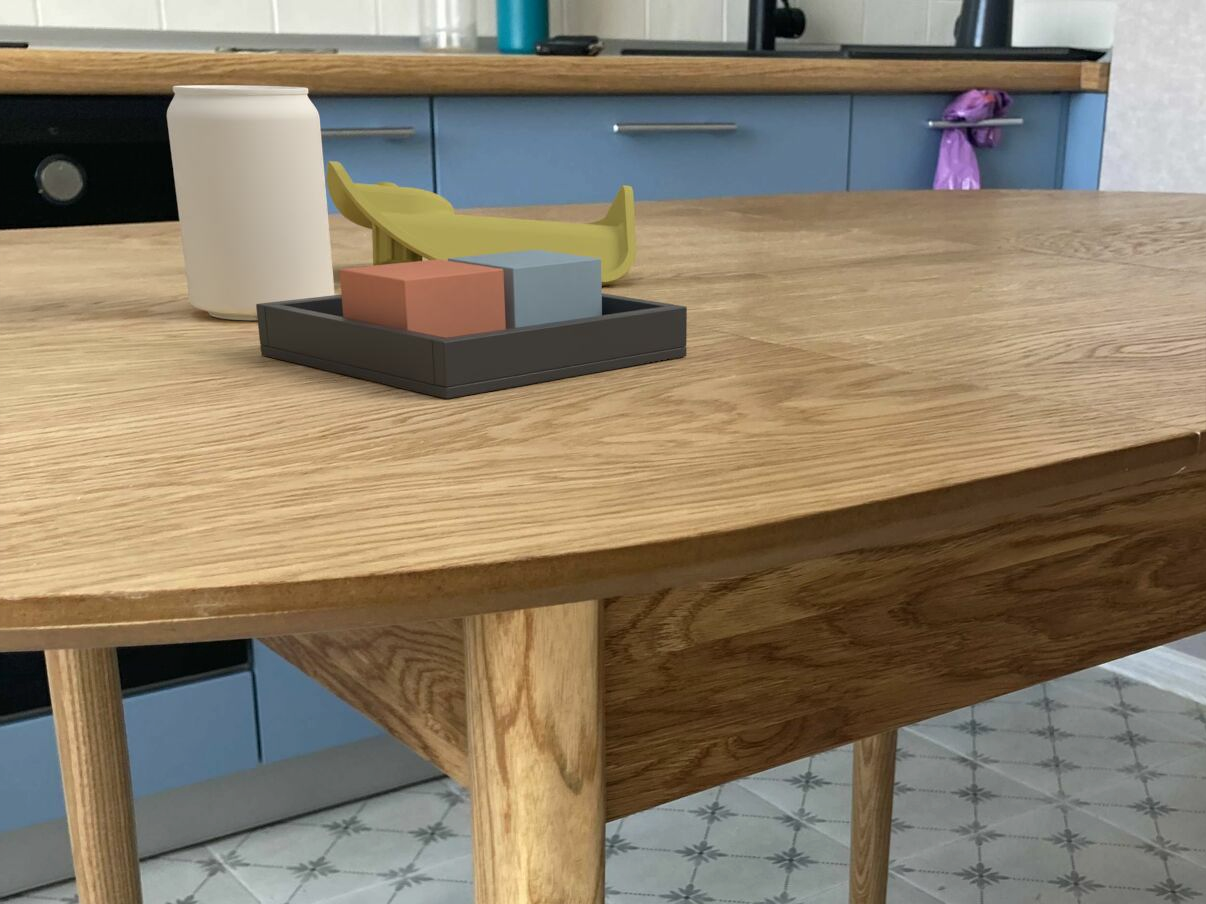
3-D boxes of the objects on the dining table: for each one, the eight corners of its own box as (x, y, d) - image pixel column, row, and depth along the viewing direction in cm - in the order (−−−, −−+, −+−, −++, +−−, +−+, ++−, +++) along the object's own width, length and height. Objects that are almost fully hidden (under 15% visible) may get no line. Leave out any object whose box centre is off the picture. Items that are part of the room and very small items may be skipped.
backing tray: (260, 355, 77) (255, 303, 76) (499, 322, 88) (498, 276, 87) (446, 399, 68) (443, 341, 67) (686, 356, 79) (687, 306, 78)
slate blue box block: (451, 338, 80) (447, 258, 78) (538, 326, 84) (536, 249, 82) (516, 351, 77) (512, 267, 75) (602, 338, 81) (601, 258, 79)
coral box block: (345, 354, 75) (338, 268, 73) (442, 340, 79) (438, 259, 78) (409, 368, 72) (403, 279, 70) (507, 353, 76) (503, 269, 75)
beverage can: (161, 317, 87) (131, 86, 82) (243, 298, 94) (219, 84, 89) (287, 326, 85) (264, 90, 80) (361, 306, 92) (344, 87, 87)
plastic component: (608, 228, 112) (636, 174, 102) (610, 329, 112) (638, 284, 102) (325, 207, 107) (326, 148, 97) (327, 313, 106) (328, 264, 97)
